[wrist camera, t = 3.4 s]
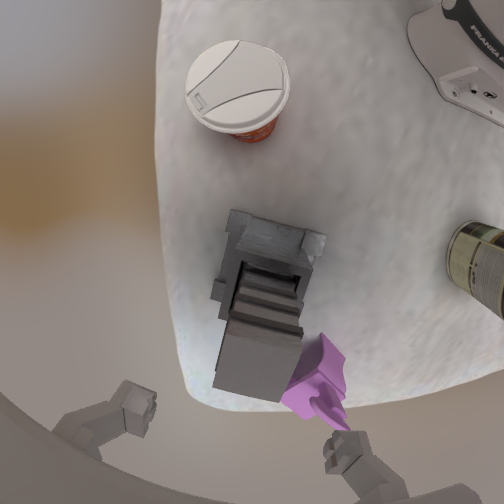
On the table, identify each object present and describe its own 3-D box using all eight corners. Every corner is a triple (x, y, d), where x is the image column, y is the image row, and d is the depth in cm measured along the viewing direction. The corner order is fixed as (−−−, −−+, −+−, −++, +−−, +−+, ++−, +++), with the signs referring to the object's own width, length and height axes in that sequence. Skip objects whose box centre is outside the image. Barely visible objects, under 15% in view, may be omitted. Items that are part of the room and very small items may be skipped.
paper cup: (241, 164, 30) (216, 152, 17) (206, 113, 29) (161, 74, 16) (298, 128, 29) (315, 92, 15) (261, 79, 28) (251, 18, 14)
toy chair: (267, 360, 37) (261, 443, 23) (317, 327, 35) (336, 408, 21) (301, 391, 38) (307, 469, 24) (348, 362, 36) (373, 438, 22)
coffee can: (474, 205, 29) (543, 222, 15) (497, 254, 30) (554, 283, 16) (434, 254, 31) (498, 293, 17) (460, 300, 32) (513, 344, 19)
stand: (322, 231, 32) (343, 255, 22) (296, 311, 35) (302, 359, 25) (234, 207, 32) (215, 220, 22) (215, 289, 35) (192, 331, 25)
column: (290, 255, 30) (306, 350, 13) (279, 289, 32) (280, 404, 14) (252, 245, 30) (223, 330, 13) (243, 280, 32) (209, 388, 14)
